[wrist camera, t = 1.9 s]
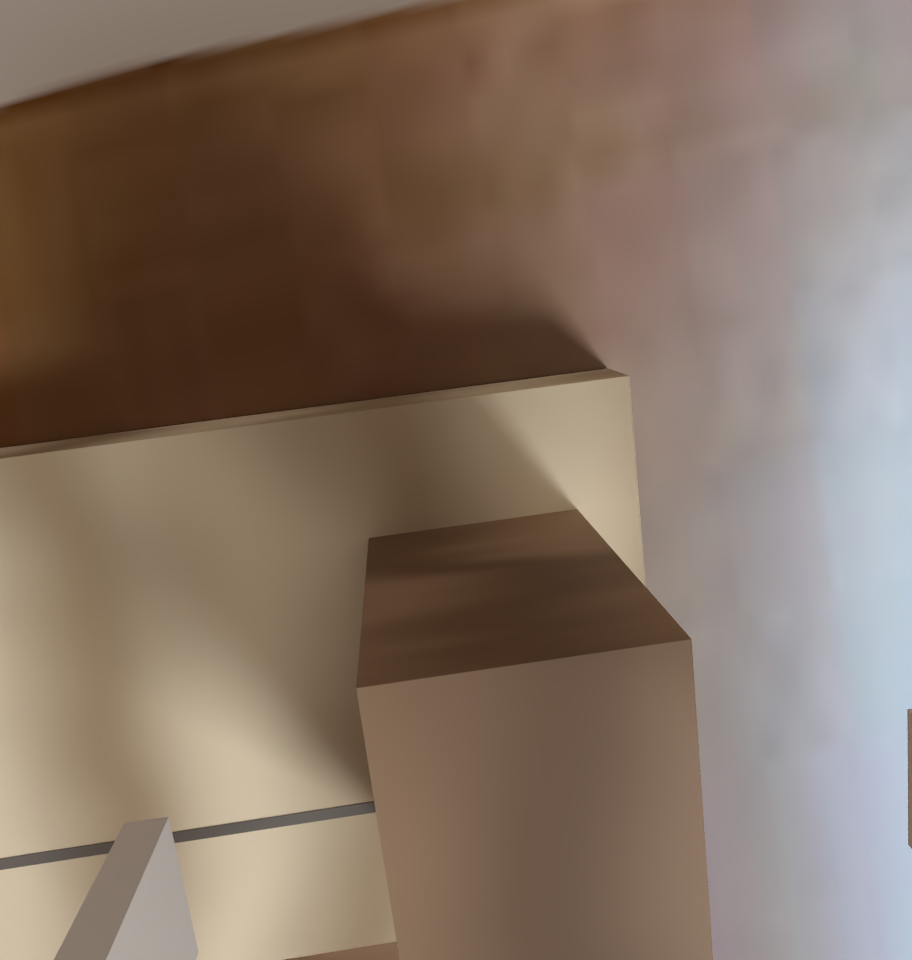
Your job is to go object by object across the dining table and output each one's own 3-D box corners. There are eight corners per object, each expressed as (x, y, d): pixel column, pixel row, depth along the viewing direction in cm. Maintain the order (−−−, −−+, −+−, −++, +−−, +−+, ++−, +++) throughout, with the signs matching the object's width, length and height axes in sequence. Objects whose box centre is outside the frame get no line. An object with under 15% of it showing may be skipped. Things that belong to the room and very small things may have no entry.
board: (-353, 1008, 24) (-420, 1073, 22) (-544, 519, 21) (-642, 543, 19) (648, 850, 25) (670, 897, 23) (607, 368, 22) (629, 375, 20)
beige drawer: (413, 836, 22) (428, 1166, 14) (368, 537, 20) (354, 707, 12) (605, 807, 22) (735, 1113, 14) (577, 508, 21) (705, 655, 12)
